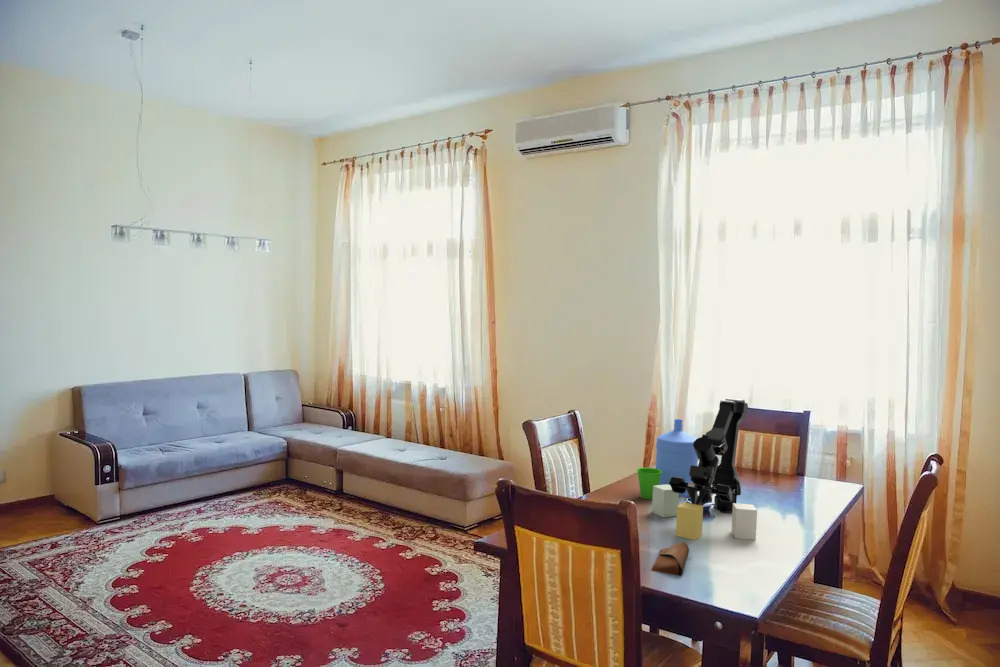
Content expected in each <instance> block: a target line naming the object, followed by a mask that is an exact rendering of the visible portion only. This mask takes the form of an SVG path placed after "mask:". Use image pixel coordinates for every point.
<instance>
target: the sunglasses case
mask: <svg viewBox="0 0 1000 667" xmlns="http://www.w3.org/2000/svg"><path fill="white" fill-rule="evenodd" d="M689 552H690V547H689V545H688V544H687V543H686V542H685V541H683V542H677V543H675V544H673V545H671V546H669V547H664V548H662V549H660V550H659V553H658V555H657V557H656V559H655V561H654V563H653V565H652V566H651V568H650V569H651V570H650V571H652V572H656V573H657V572H658V573H663V574H668V575H675V576H679V577H681V576H682V575H683V573H684V570H685V566H686V563H687V561H688V560H687V559H688V557H689Z"/></svg>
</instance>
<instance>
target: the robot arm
mask: <svg viewBox="0 0 1000 667" xmlns="http://www.w3.org/2000/svg"><path fill="white" fill-rule="evenodd" d="M718 408H719V409H718V412H717V414H716V417H715V420H714V422H713V425H712V428H711V429H710V430H708V431H706V432H705V434H702V436H701V437H698V438H696V440H695V441H694V443H693V446H694V449H695V452H696V455H697V458H698V466H693V465H691V466H690V472H689V476H691V481H693V483H692V482H688V483H685V480H684V478H682V477H676V476H673V477H671V478H670V481H669V483H670V486H671V488H672V491H673V492H676V493H681V494H683V493H685V492H686V489H687V492H688V495H689V498H690V500H691V502H690V503H691V504H696V505H702V506H703V507H704V505H706V504H707V503H708V502H712V501H714V503H715V504H714V503H713V508H714V509H715V510H717V511H718V512H720V513H732V509H733V503H737V497H738V496H741V495H742V486H741V483H740V480H739V473H738V471H737V469H736V467H735V463H736V462H735V461H736V454H737V446H738V437H739V430H740V425H741V423H742V422H743V421H744V420H745V418H746V414H747V413H748V409H749V404H748V402H746V401H745V399H740V398H731V397H730V398H729V397H726V398H725V400H724V399H723V400H720V402H719V407H718ZM718 456H721V457H720V458H721V459H720V460H719V457H718ZM719 462H720V463H719ZM713 495H714V497H713ZM713 498H714V500H713Z"/></svg>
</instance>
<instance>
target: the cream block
mask: <svg viewBox="0 0 1000 667" xmlns="http://www.w3.org/2000/svg"><path fill="white" fill-rule="evenodd" d="M757 517H758V509H757V508H756V507H755V505H754V504H750V503H749V504H748V503H739V502H738V503H737V502H736V503H733V509H732V512H731V534H732V536H733V537H734V539H739V540H740V539H741V540H752V541H753V540H755V541H756V539H757V523H758V520H757V519H758V518H757Z"/></svg>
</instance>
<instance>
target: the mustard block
mask: <svg viewBox="0 0 1000 667" xmlns="http://www.w3.org/2000/svg"><path fill="white" fill-rule="evenodd" d="M703 514H704V505H703V506H702V505H696V504H692V503H691V502H685V501H683V502H682V503H680V504H678V506H677V516H676V527H675V528H676V530H675V536H676V537H681V538H684V539H689V540H693V541H696V540H698V539H699V538H700V537H701V536H702V535H703V520H704V519H703V518H704V515H703Z"/></svg>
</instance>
